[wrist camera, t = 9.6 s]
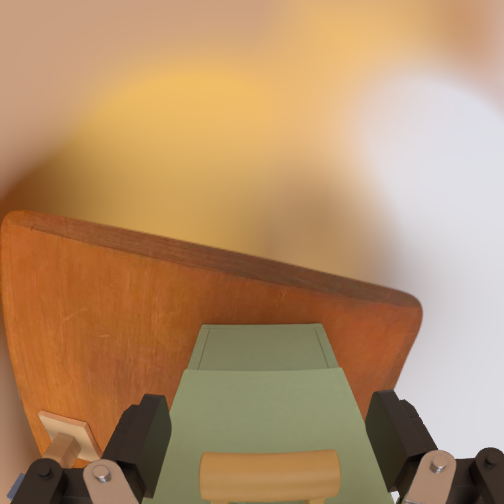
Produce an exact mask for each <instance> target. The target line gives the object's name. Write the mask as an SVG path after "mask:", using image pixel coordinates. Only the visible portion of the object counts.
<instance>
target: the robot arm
mask: <svg viewBox="0 0 504 504" xmlns="http://www.w3.org/2000/svg"><path fill="white" fill-rule="evenodd" d="M365 427H366V433H367V436H368V438H369V441H370V444H371V446H372V449H373V452H374V455H375V457H376V460H377V463H378V466H379V468H380V471H381V474H382V477H383V480H384V483H385V486H386V488H387V491H388V493H390V492H394V491H398V492H399V495H400V496H399V498H398V500H397V502H396V504H504V454H503V452H502V451H500V450H498V449H496V448H484V449H482V450H481V451H480V452H479V453H478V454H477V455H476V457H475V458H468V459H454V457H453V456H452V455H451V454H450V453H448V452H446V451H442V450H438V448H437V446H436V445H435V443H434V441H433V439H432V437H431V436H430V434H429V432H428V430H427V428H426V427H425V425H424V424H423V422H422V420H421V418H420V417H419V415H418V413H417V411H416V409H415V408H414V406H412V405H411V404H410V403H408V402H407V401H406V400H405V399H404V400H399V399H398V397H397V395H396V393H395V392H394V390H392V389H390V390H384V391H377V392H374V393H373V395H372V398H371V402H370V406H369V409H368V413H367V417H366V422H365ZM171 433H172V424H171V419H170V415H169V410H168V406H167V402H166V398H165V396H164V395H154V394H145V395H144V396H143V398H142V401H141V403H140V405H133V404H132V405H131V406H130V407H129V408H128V409H127V410H125V411H124V412H123V414H122V416H121V418H120V420H119V423H118V424H117V426H116V428H115V431H114V432H113V434H112V437H111V439H110V441H109V443H108V445H107V447H106V449H105V451H104V453H103V455H102V457H101V459H98V460H95V461H92V462H90V463H89V464H88V465H87V466H86V467H85V468H81V469H76V468H62V467H61V466H60V464H59V463H58V462H57V461H55V460H54V459H51V458H41V459H38V460H36V461H35V462H33V463H32V464H31V466H30V467H29V469H28V471H27V473H26V474H25V476H24V478H23V480H22V482H21V484H20V486H19V488H18V490H17V492H16V494H15V495H14V497H13V499H12V501H11V503H10V504H142V501H143V498H144V497H145V498H151V499H153V497H154V494H155V490H156V486H157V483H158V479H159V476H160V472H161V469H162V465H163V462H164V458H165V455H166V452H167V448H168V445H169V441H170V438H171Z"/></svg>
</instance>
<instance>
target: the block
mask: <svg viewBox="0 0 504 504" xmlns="http://www.w3.org/2000/svg"><path fill="white" fill-rule="evenodd" d="M24 476H25V475H24V474H22V473H21V474H20V475H19V477H18V479H17V480H16V482H15V483H14V485H13V486H12V488H11V490H10V491H9V493H8V494H7V497H8V498H9V499H10V501H12V499H13V497H14V495H15V494H16V492H17V490H18V488H19V486H20V484H21V482H22V480H23V478H24Z"/></svg>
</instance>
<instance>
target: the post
mask: <svg viewBox="0 0 504 504" xmlns="http://www.w3.org/2000/svg"><path fill="white" fill-rule="evenodd" d="M38 416H39V418H40V420H41V422H42V423H43V425H44V427H45V429H46V431H47V433H48V435H49V436H50V438H51V440H52V443H51V444H50V446H49V447H48V449H47V450H46V452H45V453H44V455H43V457H42V458H51V459H54V460H55V461H57V462H58V463H59V464H60V466H61V467H62V468H72V466H73V464H74V462H75V460H76V459H77V458H80V459H83V460H87V461H90V462H92V461H95V460H98V459H101V457H102V453H101V451H100V449H99V447H98V445H97V443H96V441H95V439H94V437H93V434H92V432H91V430H90V428H89V426H88V423H87V422H83V421H79V420H75V419H71V418H67V417H63V416H60V415H56V414H53V413H49V412H46V411H43V410H41V411H40V412H39V414H38Z"/></svg>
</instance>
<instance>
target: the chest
mask: <svg viewBox="0 0 504 504" xmlns="http://www.w3.org/2000/svg"><path fill="white" fill-rule="evenodd" d="M329 368H339V365H338V363H337V360H336V358H335V355H334V352H333V350H332V347H331V345H330V342H329V340H328V337H327V335H326V332H325V330H324V328H323V325H322V323H312V324H275V325H211V324H202V326H201V329H200V332H199V335H198V337H197V340H196V343H195V346H194V349H193V352H192V355H191V358H190V361H189V364H188V367H187V370H208V371H292V370H313V369H329Z"/></svg>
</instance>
